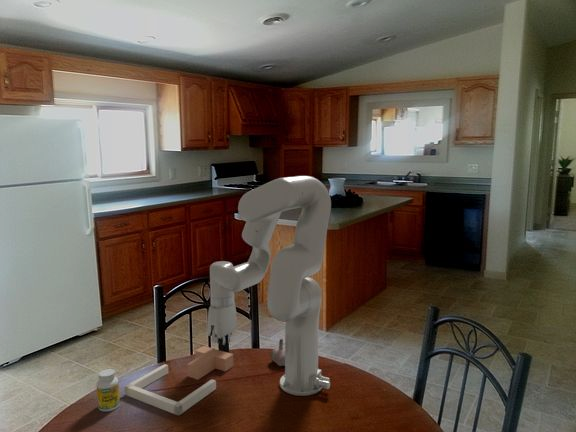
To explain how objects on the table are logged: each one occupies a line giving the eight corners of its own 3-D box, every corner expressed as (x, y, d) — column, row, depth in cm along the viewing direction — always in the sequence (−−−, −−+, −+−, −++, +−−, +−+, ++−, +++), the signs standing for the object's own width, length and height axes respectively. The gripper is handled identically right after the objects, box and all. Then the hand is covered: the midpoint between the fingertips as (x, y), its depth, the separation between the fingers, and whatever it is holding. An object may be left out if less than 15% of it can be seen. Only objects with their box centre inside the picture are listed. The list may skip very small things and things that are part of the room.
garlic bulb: (273, 356, 146) (273, 333, 145) (295, 358, 145) (295, 335, 143) (267, 367, 139) (267, 343, 138) (290, 369, 137) (290, 345, 136)
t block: (233, 366, 139) (233, 354, 139) (208, 383, 129) (208, 370, 128) (204, 357, 145) (203, 345, 145) (177, 373, 135) (177, 360, 134)
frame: (216, 388, 126) (215, 380, 125) (178, 415, 113) (178, 406, 113) (164, 371, 136) (164, 364, 135) (125, 394, 123) (124, 386, 123)
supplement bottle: (117, 398, 121) (115, 365, 120) (122, 408, 117) (120, 373, 115) (96, 404, 118) (94, 371, 117) (100, 414, 114) (98, 379, 112)
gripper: (227, 292, 150) (229, 343, 153) (197, 305, 137) (199, 360, 140) (245, 295, 146) (246, 348, 149) (216, 309, 134) (218, 366, 136)
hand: (223, 354), depth 145 cm, fingers closed
